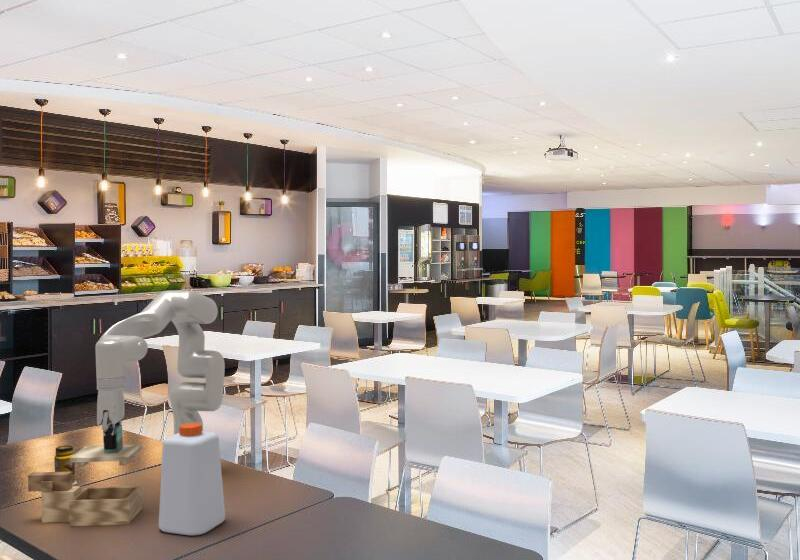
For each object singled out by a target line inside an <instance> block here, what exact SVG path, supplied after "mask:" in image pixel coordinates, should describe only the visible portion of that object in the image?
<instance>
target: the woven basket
mask: <svg viewBox="0 0 800 560" xmlns="http://www.w3.org/2000/svg"><path fill="white" fill-rule="evenodd" d="M40 492H41V493H40V495H41V497H40V499H41V500H40V501H41V523H69V527H88V526H89V527H91V526H95V527H97V526H125V525H127V526H128V525H130V524H131V523H132V522H133V520H134V519H136V517H137V515H139V514H140V512H142V486H141V485H137V486H136V485H134V486H133V485H132V486H130V485H129V486H102V487H100V486H98V487H97V486H93V487H92V486H91V487H85V488H83V489H82V486H79V485H78V486H77V485H75V486H73V485H72V488H71V489H69V490H68V491H53V481H42V482H41V491H40Z"/></svg>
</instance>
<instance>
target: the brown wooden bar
mask: <svg viewBox="0 0 800 560" xmlns="http://www.w3.org/2000/svg"><path fill="white" fill-rule="evenodd" d="M42 481H53V491H68V490H69V489H71V488H72V486H73V485H72V472H55V471H42V472H41V471H40V472H31V473H30V474H28V475H27V488H28V489H27V492H41V482H42Z"/></svg>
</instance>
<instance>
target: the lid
mask: <svg viewBox="0 0 800 560" xmlns="http://www.w3.org/2000/svg"><path fill="white" fill-rule="evenodd" d="M109 427H110V428H111V430H112V426H109ZM103 432H104V431H103V430H102V433H103ZM115 435H116V449H107V450H106V449H104V445H85V446H83V448H81V449H80V450H78V451H77V452H76V453H73V454H74V455H73V456H72V457H70V458H69V462H75V463H77V467H78V468H79V467H80V468H81V467H82V468H84V467H86V465H88V464H89V463H98V462H99V463H100V462H119V465H118V466H120V467H123V466H126V465H128V463H130V462H131V461H132V459H134V458H135V455H137V454H138V453H139V451H141V449H142V444H123V443H124V442H123V424H121V425H115ZM102 439H103V441H102V442H103V444H104V435H103V434H102Z"/></svg>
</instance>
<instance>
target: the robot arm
mask: <svg viewBox="0 0 800 560" xmlns="http://www.w3.org/2000/svg"><path fill="white" fill-rule="evenodd" d="M218 312H219V311H218V306H217V303H216V302H215V301H214V300H213V299H212V298H210V297H208V296H205V295H204V294H201V293H199V292H196V291H194V290H193V291H192V290H164V291H162V292H160V293H159V294H158V295H157V296H155V298H153V299H152V300H151V302H150V303H148V305H147V306H146V307H144V308H143V310H142V311H141V312H139V313H136V314H134V315H131V316H130V317H127V318H125V319H123V320H121V321H118V322H117V323H115V324H113V325H111V326H110V327H109V328H108V329H107V330H106V331H105V332H104V333H103V334H102V335H101V337H100V338H99V340H98V341H97V342H96V344H95V368H96V369H95V370H96V372H95V373H96V375H95V376H96V390H97V391H98V392H97V401H96V424H97V425H98V426H101V430H102V436H103V435H104V443H103V446H104V449H106V450H107V449H116V435H115V425H122V420H123V419H124V417H125V408H126V407H125V395H124V394H125V393H124V389H125V388H126V375H125V374H126V369H125V363H128V362H138V361H140V360H142V359H143V358H144V357H146V355H147V353H148V349H149V348H148V347H149V346H148V343H147V341H146V339H145V338H149V337H153V336H155V335H158V334H160V333H161V332H163V330H164V329H165V328H166V327H167V326H168V325H169V323H170V322H172V323H173V325H174V326H175V329H176V330H177V333H178V349H177V369H176V370H177V373H178V375H179V376H180V377H182V378H188V379H204V380H205V382H198V381H197V382H196V381H181V382H179V383H176V384H174V386H172V388H171V389H170V393H169V395H170V396H169V400H170V404H171V405H170V406H171V410H172V416H173V435H175V434H177V433H179V427H180V426H181V425H182V424H187V423H199V424H201V425H202V431H204V422H203V419H202V417H201V414H200V413H199V412H215V411H217V410H219V409H220V407H221V406H222V404H223V403H222V402H223V397H224V387H225V386H224V385H225V383H224V382H225V373H226V372H225V367H226V366H225V359H224V356H223V355H222V353H220V352H219V351H217V350H212V349H211V350H208V349H207V350H206V349H205V340H206V338H205V332H204V330H203V328H202V327H201V326H200V325H201V324H204V325H207V324H208V325H209V324H212V323H213V322H214V321H216V318H217V317H218ZM109 426H112V430H111V428H110V427H109ZM103 431H104V432H103Z"/></svg>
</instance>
